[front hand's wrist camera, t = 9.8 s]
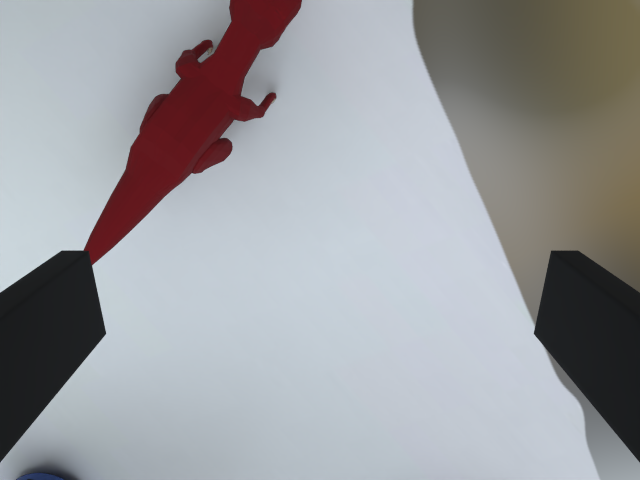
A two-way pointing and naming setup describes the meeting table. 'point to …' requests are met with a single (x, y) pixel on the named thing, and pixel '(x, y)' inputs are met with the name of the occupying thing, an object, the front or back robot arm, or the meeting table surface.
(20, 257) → the meeting table surface
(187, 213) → the meeting table surface
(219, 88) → the toy
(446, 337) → the meeting table surface
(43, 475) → the can
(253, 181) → the meeting table surface
